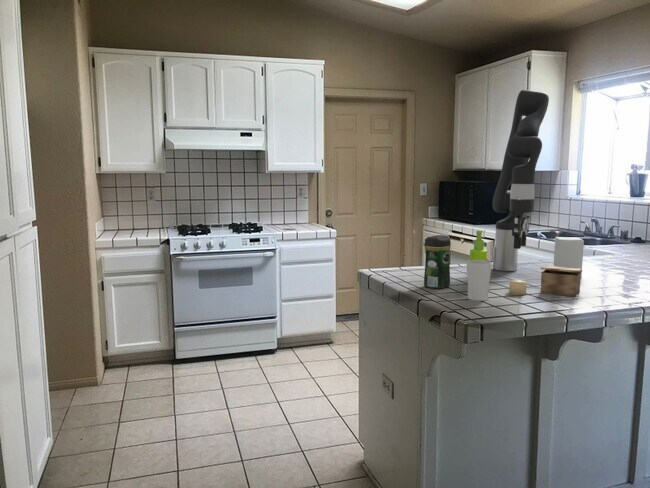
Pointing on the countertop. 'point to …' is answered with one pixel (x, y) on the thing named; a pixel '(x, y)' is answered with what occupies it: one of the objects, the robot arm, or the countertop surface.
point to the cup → (478, 279)
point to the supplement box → (568, 252)
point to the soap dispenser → (478, 248)
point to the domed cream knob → (517, 287)
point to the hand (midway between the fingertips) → (519, 247)
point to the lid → (561, 269)
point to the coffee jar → (437, 261)
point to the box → (560, 282)
